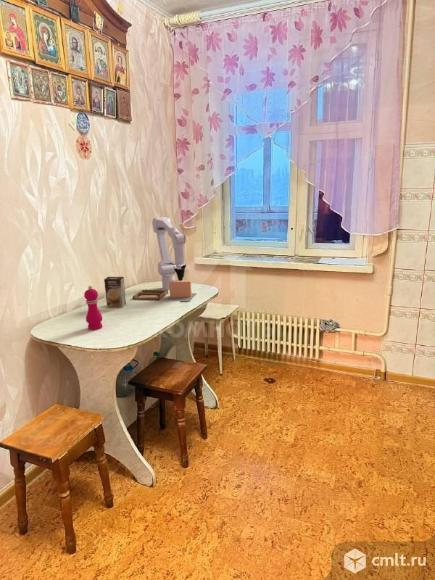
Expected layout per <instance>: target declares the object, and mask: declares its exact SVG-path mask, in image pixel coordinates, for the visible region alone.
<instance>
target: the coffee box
mask: <svg viewBox="0 0 435 580" xmlns="http://www.w3.org/2000/svg"><path fill="white" fill-rule="evenodd" d="M103 282H104V291H105V300H106V308H107V309H112V308H113V309H114V308H122V309H123V308H124V307H125V306H126V305H127V299H126V297H127V295H126V285H125V277H124V276H107V277H106V278H104V281H103Z"/></svg>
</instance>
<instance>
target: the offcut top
mask: <svg viewBox="0 0 435 580" xmlns="http://www.w3.org/2000/svg"><path fill="white" fill-rule="evenodd" d="M138 298H158V296H140V297H138Z"/></svg>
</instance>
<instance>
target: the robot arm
mask: <svg viewBox="0 0 435 580" xmlns="http://www.w3.org/2000/svg"><path fill="white" fill-rule="evenodd" d="M151 221H152V222H151V223H152V229H153V232H154V233H155V234H156V238H157V242H158V248H159V254H160V258H161V260H160V261H159V262H158V264H157V271H158V274H159V276H161V284H162V287H161V289H159V290H168V291H170V289H169V281H176V276H177V281H178V280H179V281H182V280H184V279H183V278H184V277H185V270H186V266H187V264H186V254H185V253H186V251H185V244H186V242H187V240H186V239H187V238H186V235H185V233H181V232H180V231H179V230H178V229H177V228H176V227H175V226H173V225H172V222H171V221H172V220H171V218H170V217H169V216H164V217H153V218H152V220H151ZM166 232H167V235H168V237H170V239H171V242H172V248H173V250H174V251H173V252H174V253H173V254H174V260H172V259H171V258H170V255H169V250H168V244H167V243H168V242H167V238H166ZM175 273H176V276H175Z"/></svg>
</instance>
